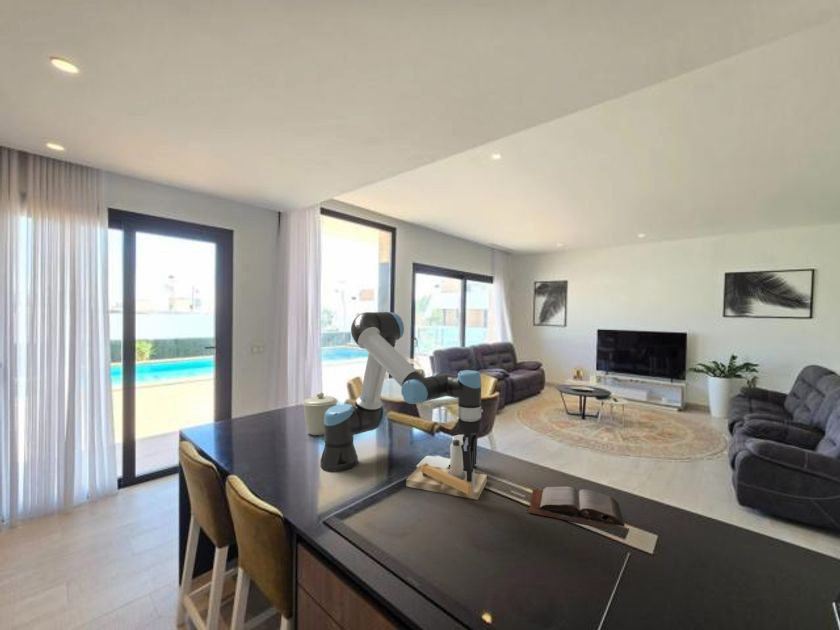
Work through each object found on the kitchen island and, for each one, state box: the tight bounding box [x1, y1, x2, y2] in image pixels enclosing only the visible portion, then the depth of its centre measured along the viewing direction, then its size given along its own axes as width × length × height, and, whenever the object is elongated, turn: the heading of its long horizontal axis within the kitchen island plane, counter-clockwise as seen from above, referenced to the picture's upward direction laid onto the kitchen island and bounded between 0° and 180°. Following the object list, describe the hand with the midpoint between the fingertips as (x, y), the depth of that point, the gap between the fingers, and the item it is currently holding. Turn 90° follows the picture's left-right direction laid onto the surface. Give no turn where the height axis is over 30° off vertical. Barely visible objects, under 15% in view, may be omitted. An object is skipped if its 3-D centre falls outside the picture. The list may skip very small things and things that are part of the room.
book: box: [528, 486, 625, 529], centre depth 118 cm, size 20×28×4 cm
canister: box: [301, 391, 339, 436], centre depth 193 cm, size 18×18×21 cm
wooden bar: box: [421, 463, 472, 494], centre depth 127 cm, size 23×3×3 cm, turn 41°
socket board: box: [405, 465, 488, 501], centre depth 134 cm, size 26×14×4 cm, turn 68°
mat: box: [415, 455, 450, 469], centre depth 151 cm, size 12×12×1 cm
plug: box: [448, 439, 466, 480], centre depth 134 cm, size 7×7×16 cm
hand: (470, 489), depth 122 cm, fingers closed
